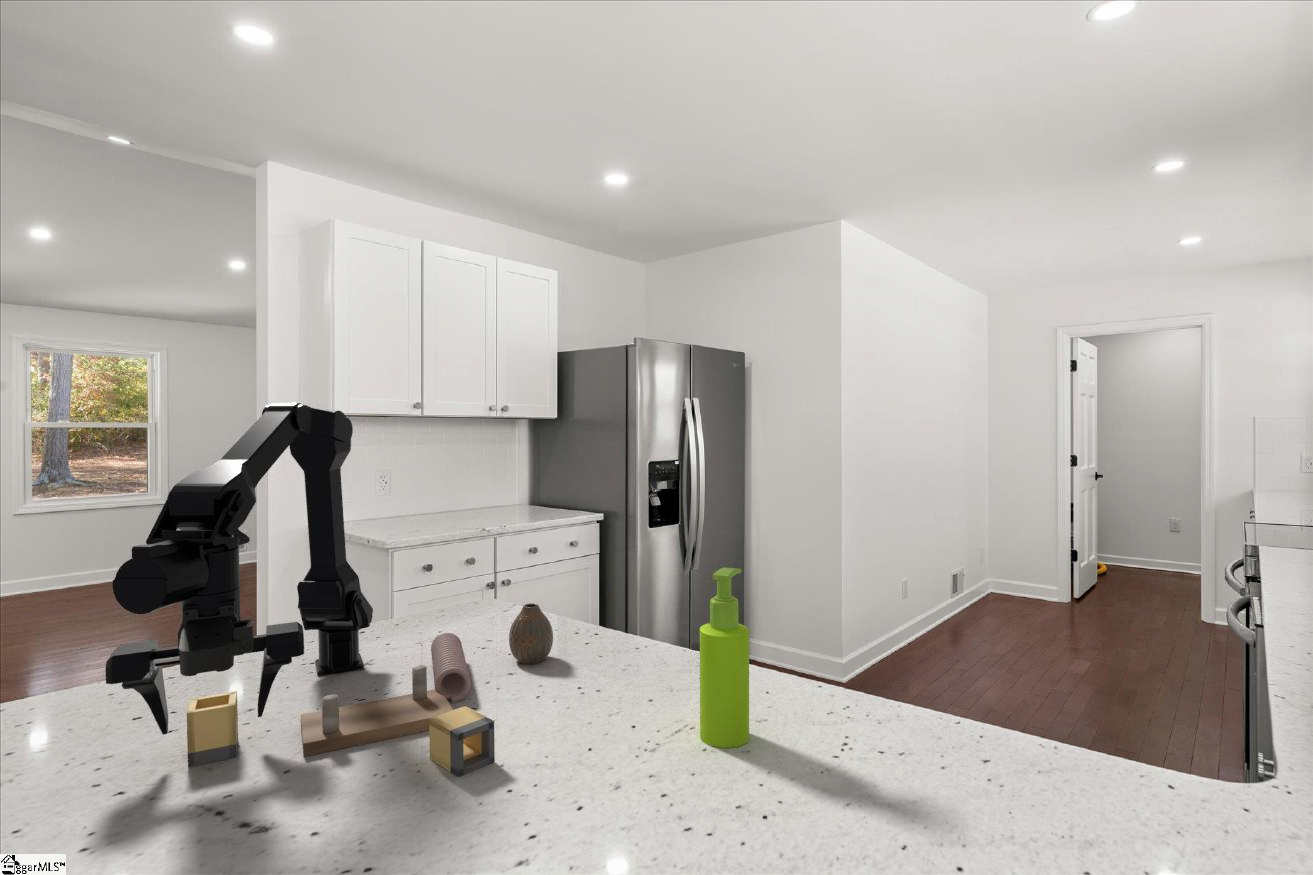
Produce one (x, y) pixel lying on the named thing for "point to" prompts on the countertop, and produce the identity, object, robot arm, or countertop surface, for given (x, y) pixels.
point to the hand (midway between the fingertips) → (213, 724)
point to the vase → (531, 635)
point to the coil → (450, 667)
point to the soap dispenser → (724, 670)
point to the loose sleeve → (212, 728)
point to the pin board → (371, 718)
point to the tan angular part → (461, 740)
